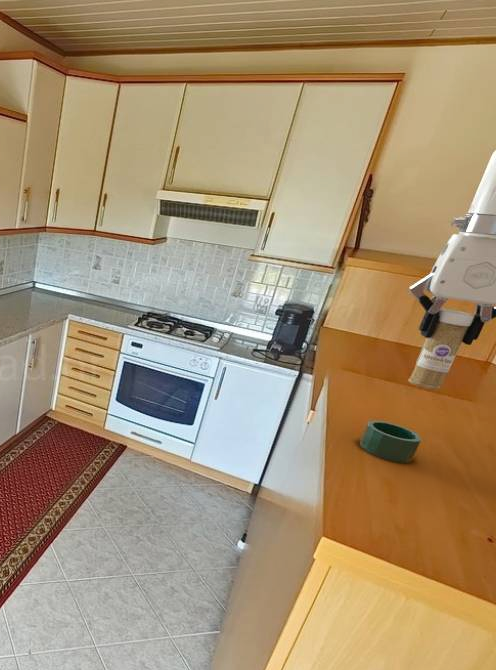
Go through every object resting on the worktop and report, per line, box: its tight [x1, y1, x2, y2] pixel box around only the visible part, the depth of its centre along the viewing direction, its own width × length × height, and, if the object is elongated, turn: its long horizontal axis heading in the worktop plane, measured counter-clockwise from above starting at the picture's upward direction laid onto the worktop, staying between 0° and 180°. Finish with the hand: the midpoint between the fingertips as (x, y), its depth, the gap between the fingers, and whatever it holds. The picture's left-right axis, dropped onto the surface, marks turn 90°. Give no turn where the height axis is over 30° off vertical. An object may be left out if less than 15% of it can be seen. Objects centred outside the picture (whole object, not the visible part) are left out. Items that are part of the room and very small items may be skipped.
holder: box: [359, 420, 423, 464], centre depth 92 cm, size 8×8×4 cm
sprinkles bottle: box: [408, 308, 475, 391], centre depth 83 cm, size 5×5×13 cm
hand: (445, 338), depth 83 cm, fingers closed on sprinkles bottle, 4 cm apart
